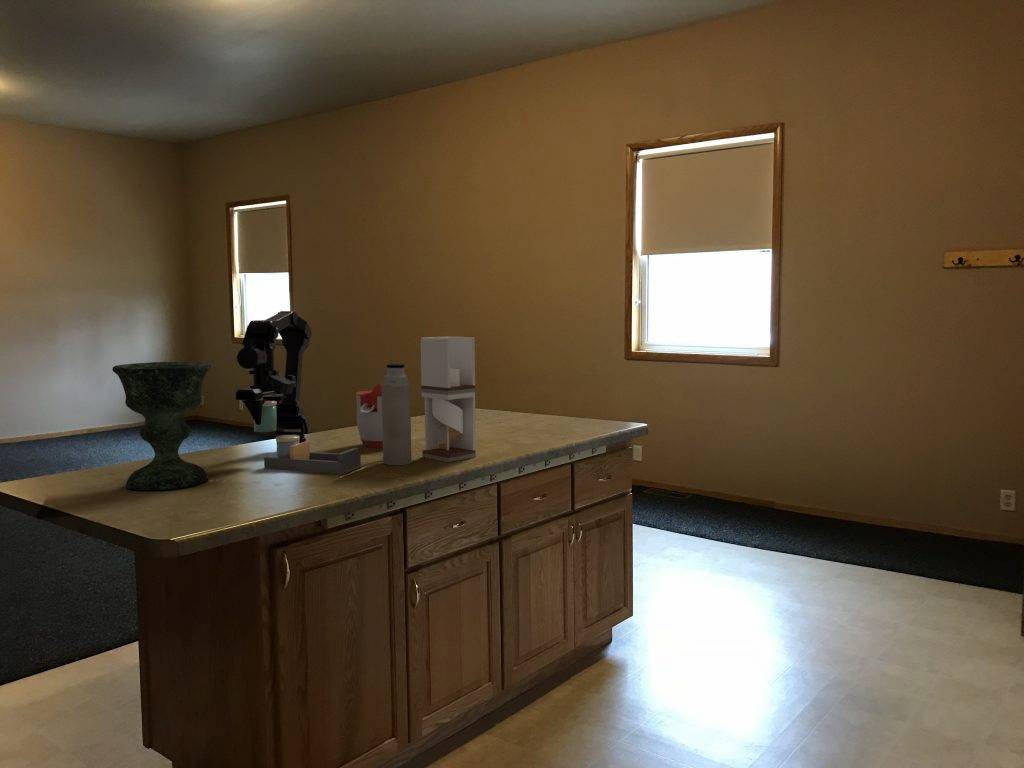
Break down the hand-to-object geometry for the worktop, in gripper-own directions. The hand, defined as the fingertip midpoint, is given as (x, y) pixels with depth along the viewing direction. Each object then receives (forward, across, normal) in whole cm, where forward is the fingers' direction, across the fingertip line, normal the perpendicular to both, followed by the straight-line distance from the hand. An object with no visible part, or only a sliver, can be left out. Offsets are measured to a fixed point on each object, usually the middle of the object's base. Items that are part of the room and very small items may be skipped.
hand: (265, 423), depth 227 cm
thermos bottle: (+12, +16, -32) cm, 38 cm away
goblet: (+13, -25, +12) cm, 31 cm away
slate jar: (+11, 0, -7) cm, 13 cm away
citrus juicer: (+12, +40, -16) cm, 44 cm away
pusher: (+11, 0, -11) cm, 16 cm away
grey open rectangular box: (+12, 0, -15) cm, 19 cm away
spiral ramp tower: (+12, +27, -44) cm, 53 cm away
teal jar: (+2, 0, 0) cm, 2 cm away
